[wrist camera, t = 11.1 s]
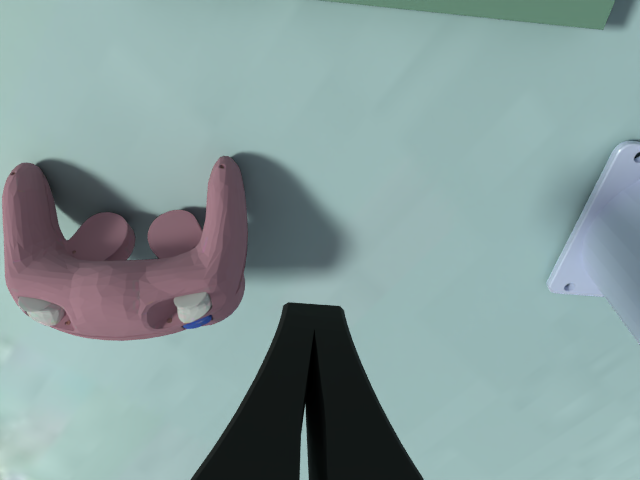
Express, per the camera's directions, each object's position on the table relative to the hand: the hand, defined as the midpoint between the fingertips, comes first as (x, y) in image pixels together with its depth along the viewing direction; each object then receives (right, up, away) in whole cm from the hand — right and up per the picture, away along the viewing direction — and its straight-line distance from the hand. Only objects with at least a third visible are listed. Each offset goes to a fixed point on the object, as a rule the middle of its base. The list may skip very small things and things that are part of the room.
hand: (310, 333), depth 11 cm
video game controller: (-8, +4, +10) cm, 13 cm away
